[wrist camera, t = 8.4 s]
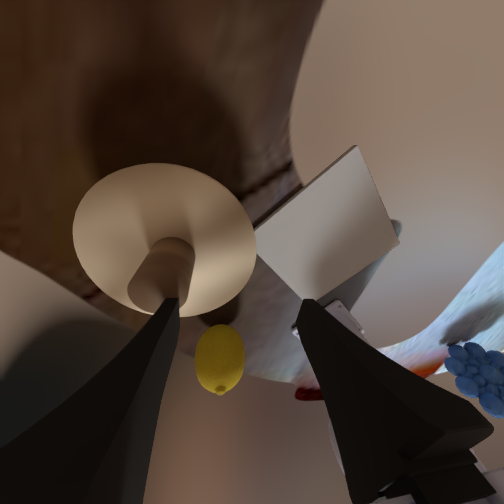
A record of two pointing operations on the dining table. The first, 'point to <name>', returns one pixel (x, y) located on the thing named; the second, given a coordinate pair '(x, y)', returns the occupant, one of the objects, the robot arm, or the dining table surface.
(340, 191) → the mat
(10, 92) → the dining table surface
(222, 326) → the lemon
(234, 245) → the lid
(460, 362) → the grapes
